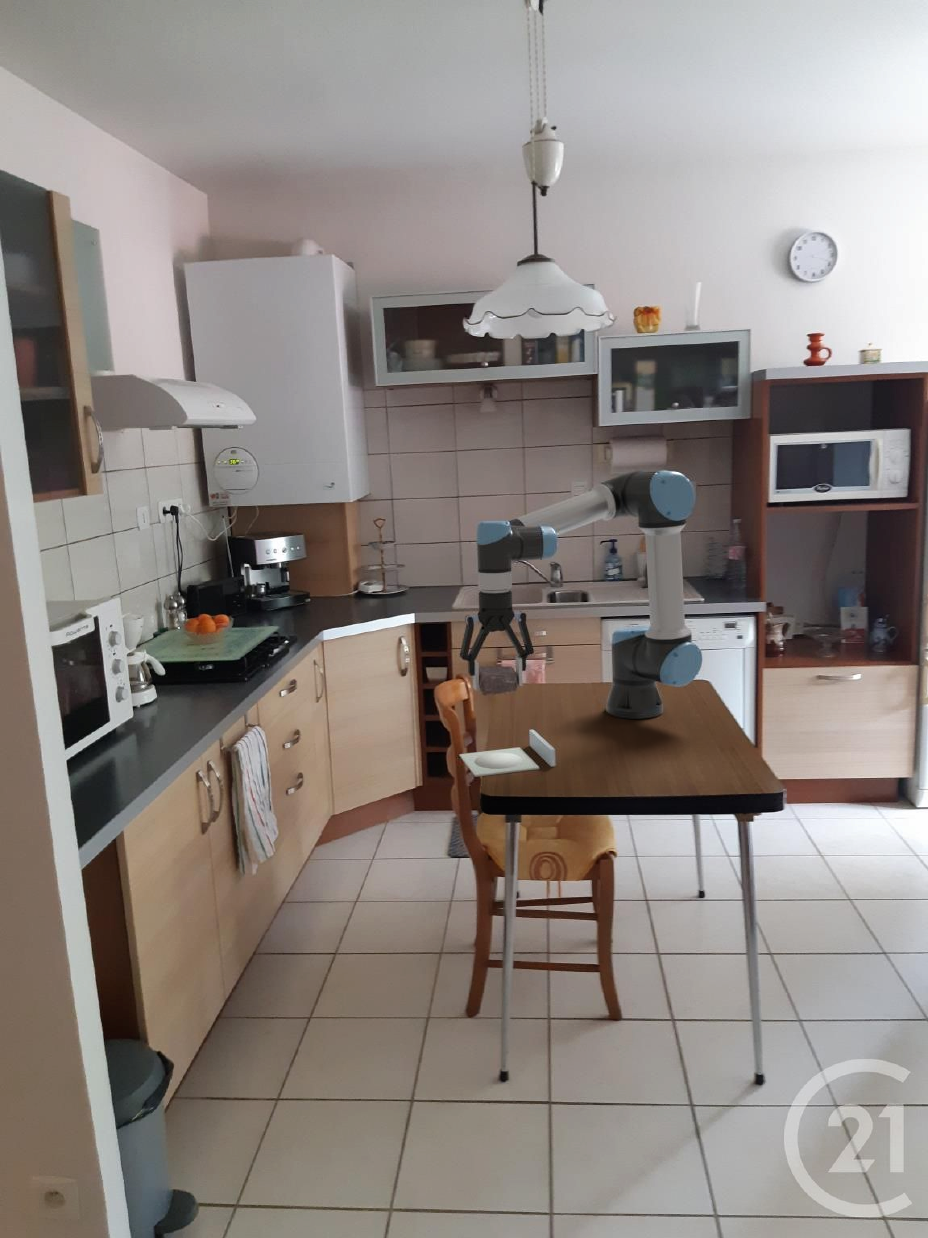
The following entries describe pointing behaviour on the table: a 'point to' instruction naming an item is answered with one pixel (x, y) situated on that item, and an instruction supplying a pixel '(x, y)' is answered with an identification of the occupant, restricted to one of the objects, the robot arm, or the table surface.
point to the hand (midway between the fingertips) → (497, 687)
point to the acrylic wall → (542, 747)
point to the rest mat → (498, 761)
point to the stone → (497, 679)
